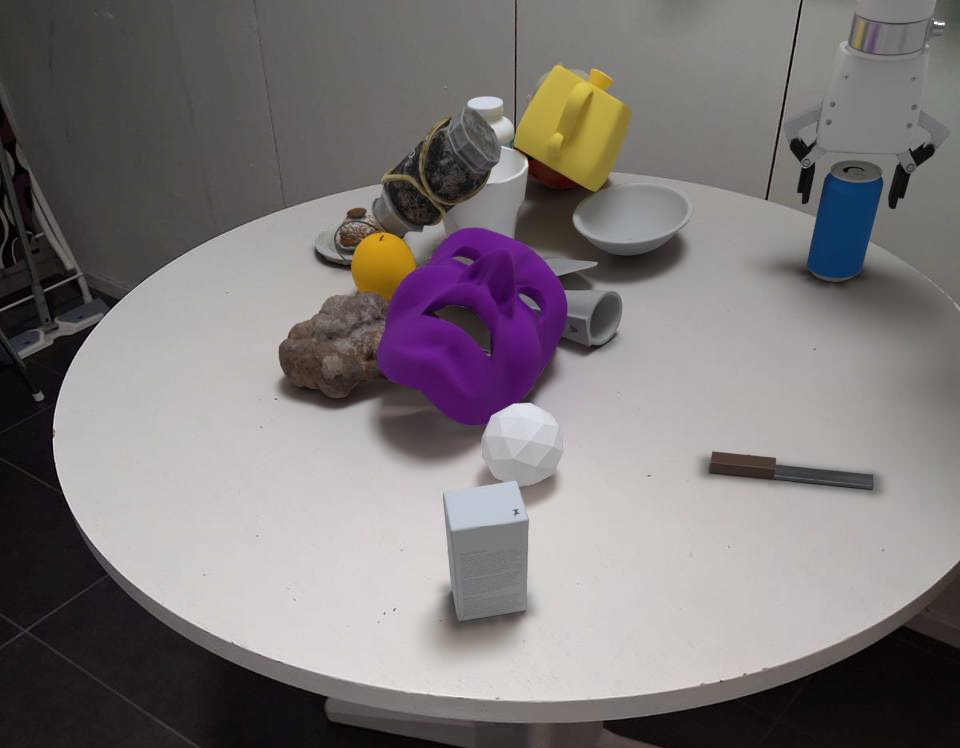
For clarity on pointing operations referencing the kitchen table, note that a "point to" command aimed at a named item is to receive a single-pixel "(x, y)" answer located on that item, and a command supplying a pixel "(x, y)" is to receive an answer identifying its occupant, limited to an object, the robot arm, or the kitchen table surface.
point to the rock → (337, 344)
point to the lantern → (436, 175)
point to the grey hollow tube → (588, 315)
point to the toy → (539, 169)
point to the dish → (632, 217)
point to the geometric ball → (522, 444)
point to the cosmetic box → (487, 549)
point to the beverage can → (845, 220)
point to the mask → (494, 298)
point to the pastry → (345, 236)
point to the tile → (568, 265)
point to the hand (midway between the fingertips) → (847, 201)
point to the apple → (381, 264)
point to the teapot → (575, 126)
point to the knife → (784, 471)
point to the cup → (493, 200)
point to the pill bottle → (494, 118)
